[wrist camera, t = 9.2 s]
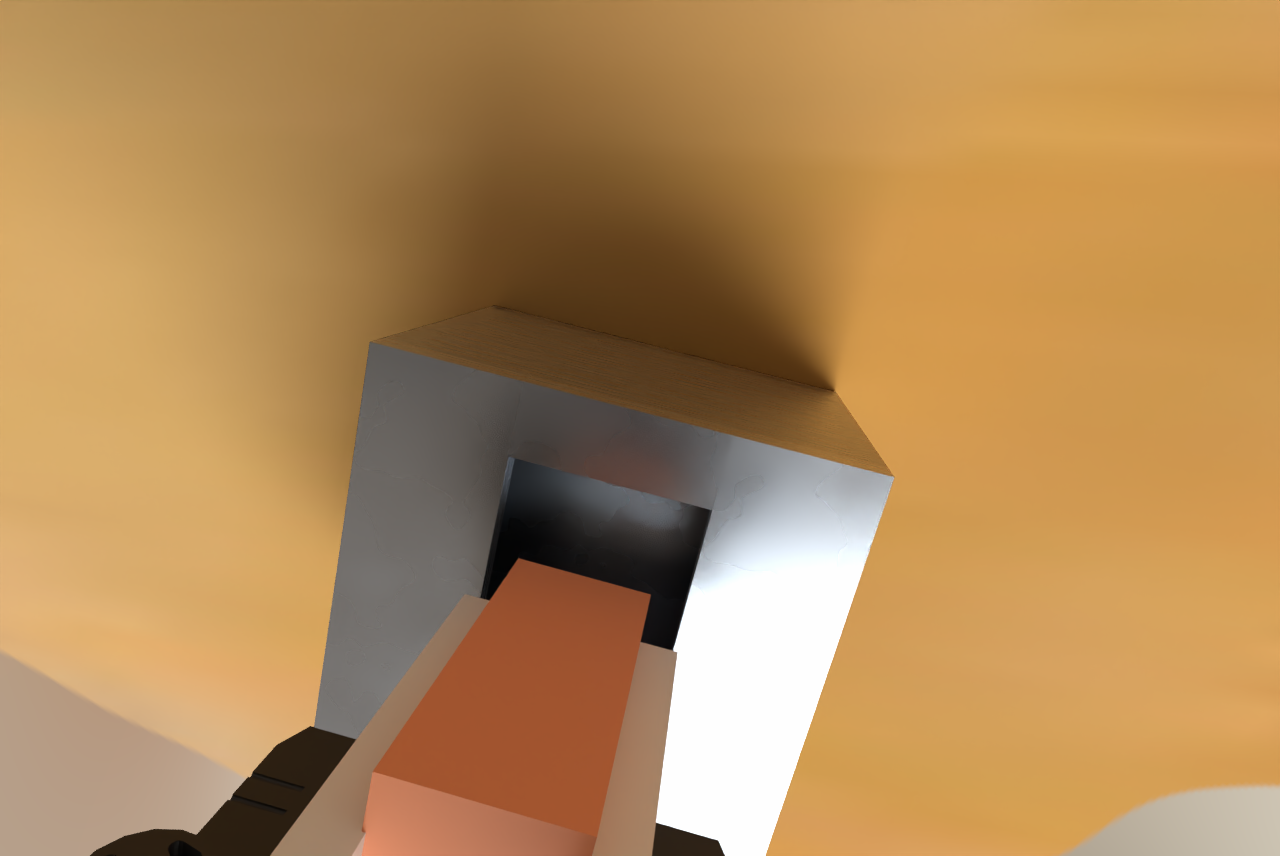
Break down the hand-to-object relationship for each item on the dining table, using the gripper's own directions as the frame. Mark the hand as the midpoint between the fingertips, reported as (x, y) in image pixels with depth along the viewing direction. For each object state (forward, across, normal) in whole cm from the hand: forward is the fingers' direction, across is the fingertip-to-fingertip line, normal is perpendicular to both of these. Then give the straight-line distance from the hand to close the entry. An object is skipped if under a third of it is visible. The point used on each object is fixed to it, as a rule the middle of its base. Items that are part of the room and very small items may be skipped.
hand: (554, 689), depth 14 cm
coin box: (+10, 0, 0) cm, 10 cm away
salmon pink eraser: (+1, 0, 0) cm, 1 cm away
